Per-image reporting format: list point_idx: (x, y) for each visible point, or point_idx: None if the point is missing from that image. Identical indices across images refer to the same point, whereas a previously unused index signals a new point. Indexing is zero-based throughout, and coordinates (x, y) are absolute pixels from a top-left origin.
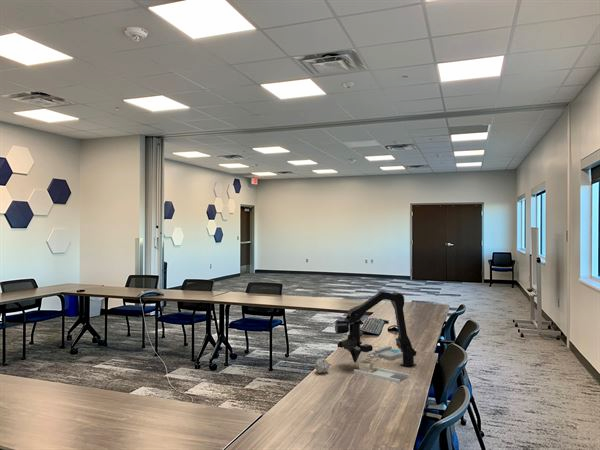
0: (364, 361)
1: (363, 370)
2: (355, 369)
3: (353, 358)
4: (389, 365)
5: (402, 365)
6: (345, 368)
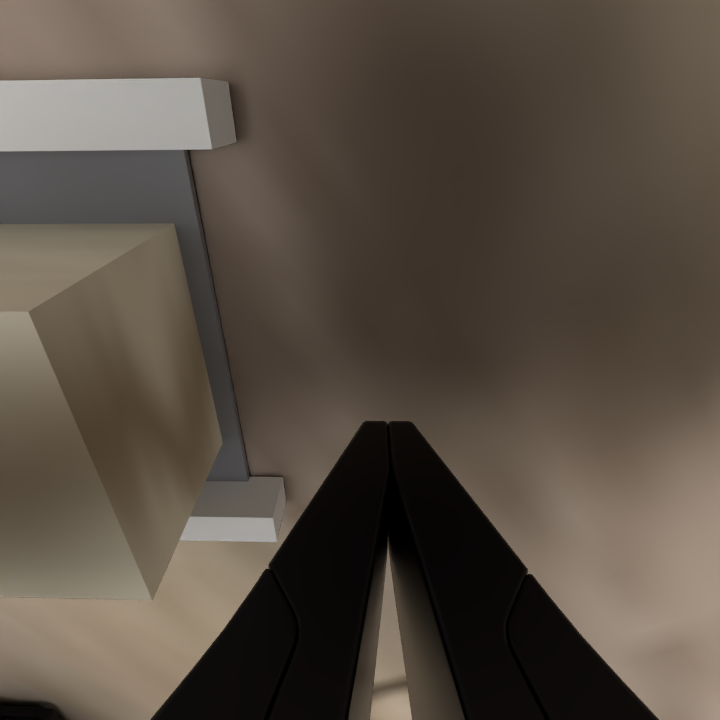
0: (60, 518)
1: (13, 237)
2: (173, 122)
3: (427, 495)
4: (133, 672)
5: (17, 711)
6: (595, 232)
